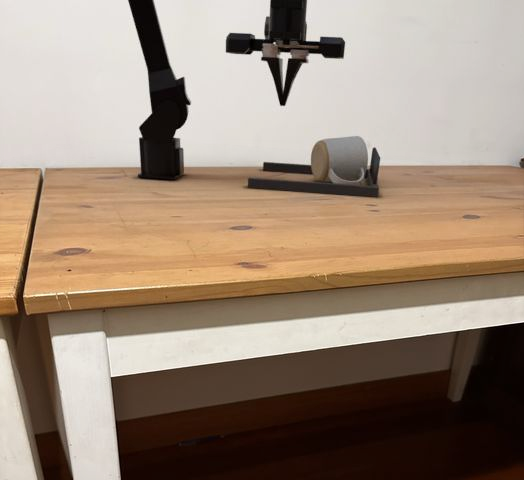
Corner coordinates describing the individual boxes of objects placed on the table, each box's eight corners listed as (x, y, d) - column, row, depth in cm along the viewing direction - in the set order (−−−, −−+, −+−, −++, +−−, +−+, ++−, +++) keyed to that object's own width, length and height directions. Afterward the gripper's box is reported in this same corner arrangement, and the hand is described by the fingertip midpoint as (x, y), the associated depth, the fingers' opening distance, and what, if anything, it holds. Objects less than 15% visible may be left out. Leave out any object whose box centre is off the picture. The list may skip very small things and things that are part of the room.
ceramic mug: (306, 178, 95) (310, 133, 91) (346, 177, 98) (352, 133, 94) (331, 191, 86) (336, 141, 83) (374, 190, 89) (382, 142, 85)
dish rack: (247, 187, 85) (248, 150, 83) (263, 169, 102) (264, 138, 99) (377, 197, 83) (382, 159, 80) (372, 177, 100) (376, 145, 97)
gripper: (349, 3, 86) (338, 106, 94) (238, -1, 88) (236, 100, 96) (350, -7, 77) (338, 110, 84) (225, -11, 79) (224, 103, 86)
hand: (282, 105), depth 88 cm, fingers closed
